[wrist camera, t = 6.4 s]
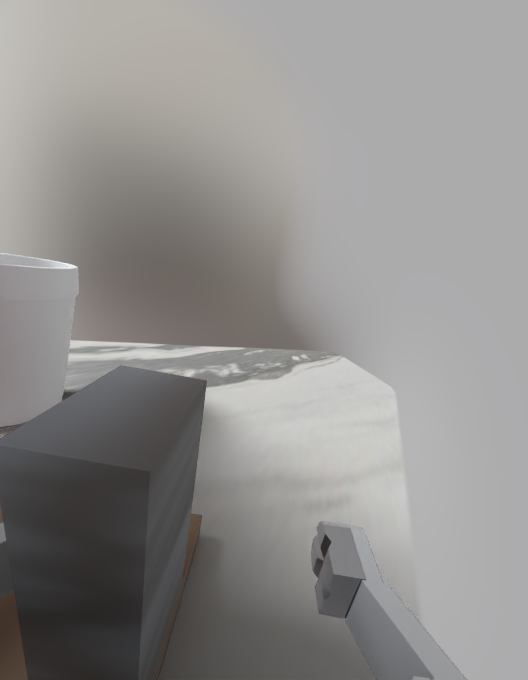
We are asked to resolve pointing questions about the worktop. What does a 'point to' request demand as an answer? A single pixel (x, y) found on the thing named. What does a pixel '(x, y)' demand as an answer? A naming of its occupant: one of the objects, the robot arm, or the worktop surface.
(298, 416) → the worktop surface
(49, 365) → the foam cup
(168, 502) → the strip
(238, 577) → the worktop surface
